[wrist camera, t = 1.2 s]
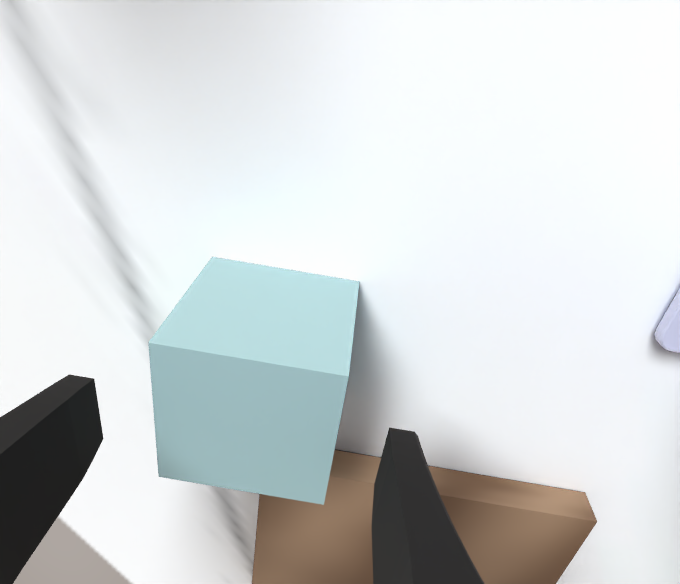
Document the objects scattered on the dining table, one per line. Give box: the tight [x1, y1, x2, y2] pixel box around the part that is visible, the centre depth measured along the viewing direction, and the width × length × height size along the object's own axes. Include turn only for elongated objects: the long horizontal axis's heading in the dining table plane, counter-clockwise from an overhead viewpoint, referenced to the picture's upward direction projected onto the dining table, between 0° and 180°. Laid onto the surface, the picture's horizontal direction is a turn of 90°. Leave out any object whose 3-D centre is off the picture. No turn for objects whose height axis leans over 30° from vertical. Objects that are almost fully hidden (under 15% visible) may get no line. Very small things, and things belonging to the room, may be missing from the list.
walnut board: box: [252, 450, 597, 584], centre depth 20 cm, size 12×10×1 cm
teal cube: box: [149, 257, 359, 505], centre depth 14 cm, size 4×4×4 cm
